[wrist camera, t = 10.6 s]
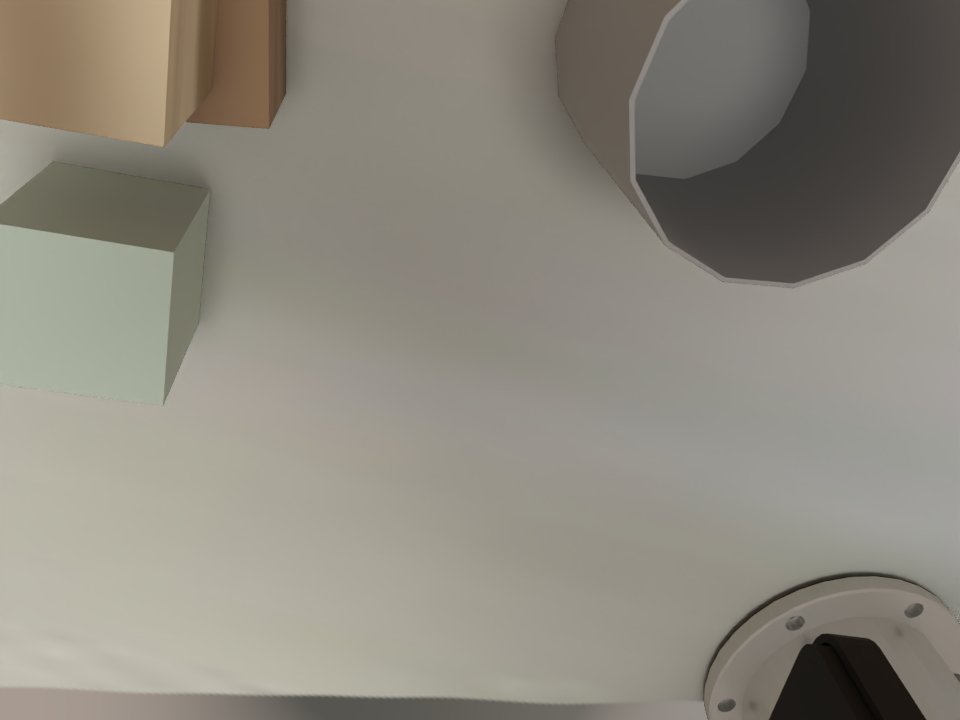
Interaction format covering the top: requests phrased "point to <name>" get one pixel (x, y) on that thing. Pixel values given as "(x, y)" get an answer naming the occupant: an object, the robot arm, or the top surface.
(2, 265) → the sage block
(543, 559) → the top surface
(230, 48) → the walnut block
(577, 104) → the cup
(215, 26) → the maple block
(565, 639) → the top surface
